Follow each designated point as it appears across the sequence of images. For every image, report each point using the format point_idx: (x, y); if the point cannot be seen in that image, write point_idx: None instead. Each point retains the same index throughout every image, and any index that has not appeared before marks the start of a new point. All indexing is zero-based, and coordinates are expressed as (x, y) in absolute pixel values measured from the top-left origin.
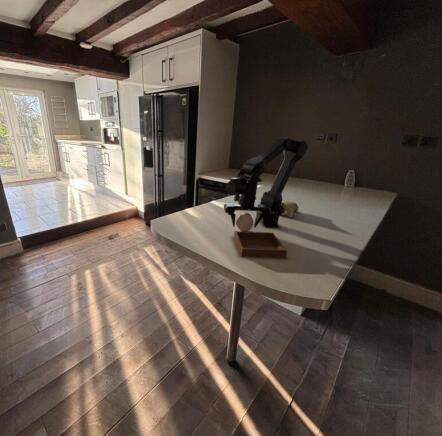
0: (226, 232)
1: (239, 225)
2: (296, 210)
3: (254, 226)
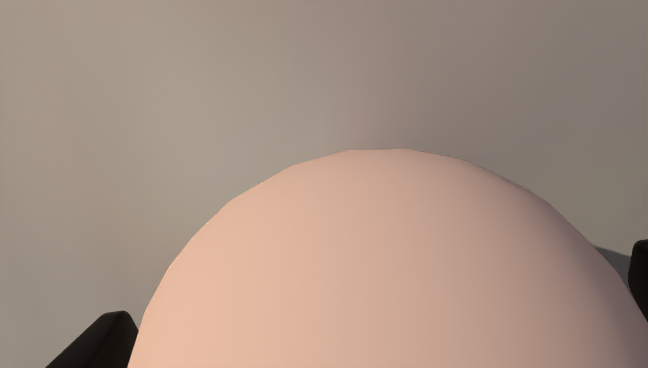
0: None
1: None
2: None
3: (643, 292)
